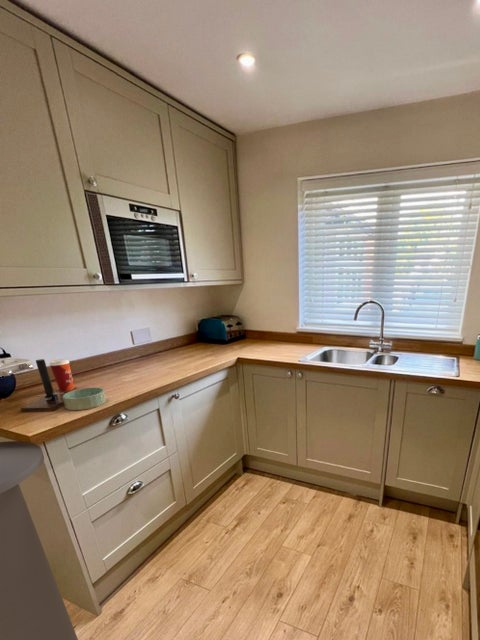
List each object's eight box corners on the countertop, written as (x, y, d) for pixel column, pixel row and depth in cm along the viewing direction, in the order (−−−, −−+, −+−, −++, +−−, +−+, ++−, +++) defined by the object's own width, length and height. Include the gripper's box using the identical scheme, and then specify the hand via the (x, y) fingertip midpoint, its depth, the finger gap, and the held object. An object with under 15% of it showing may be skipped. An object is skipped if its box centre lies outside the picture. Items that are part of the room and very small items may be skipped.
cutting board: (52, 411, 130) (51, 407, 129) (21, 411, 129) (20, 408, 129) (83, 394, 148) (83, 391, 148) (56, 394, 148) (55, 391, 148)
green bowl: (93, 410, 130) (90, 398, 128) (57, 411, 130) (53, 399, 128) (113, 397, 143) (110, 387, 142) (80, 398, 143) (77, 387, 141)
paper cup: (76, 390, 153) (68, 361, 148) (56, 393, 150) (47, 363, 145) (77, 386, 160) (69, 357, 155) (58, 388, 156) (49, 359, 151)
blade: (61, 401, 135) (49, 361, 129) (35, 405, 132) (21, 363, 126) (67, 395, 143) (56, 356, 137) (42, 397, 140) (30, 358, 134)
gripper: (-40, 368, 126) (-9, 369, 124) (13, 356, 145) (41, 356, 143) (-33, 384, 128) (-3, 385, 126) (18, 370, 147) (45, 370, 145)
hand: (21, 370), depth 135 cm, fingers open, 8 cm apart
